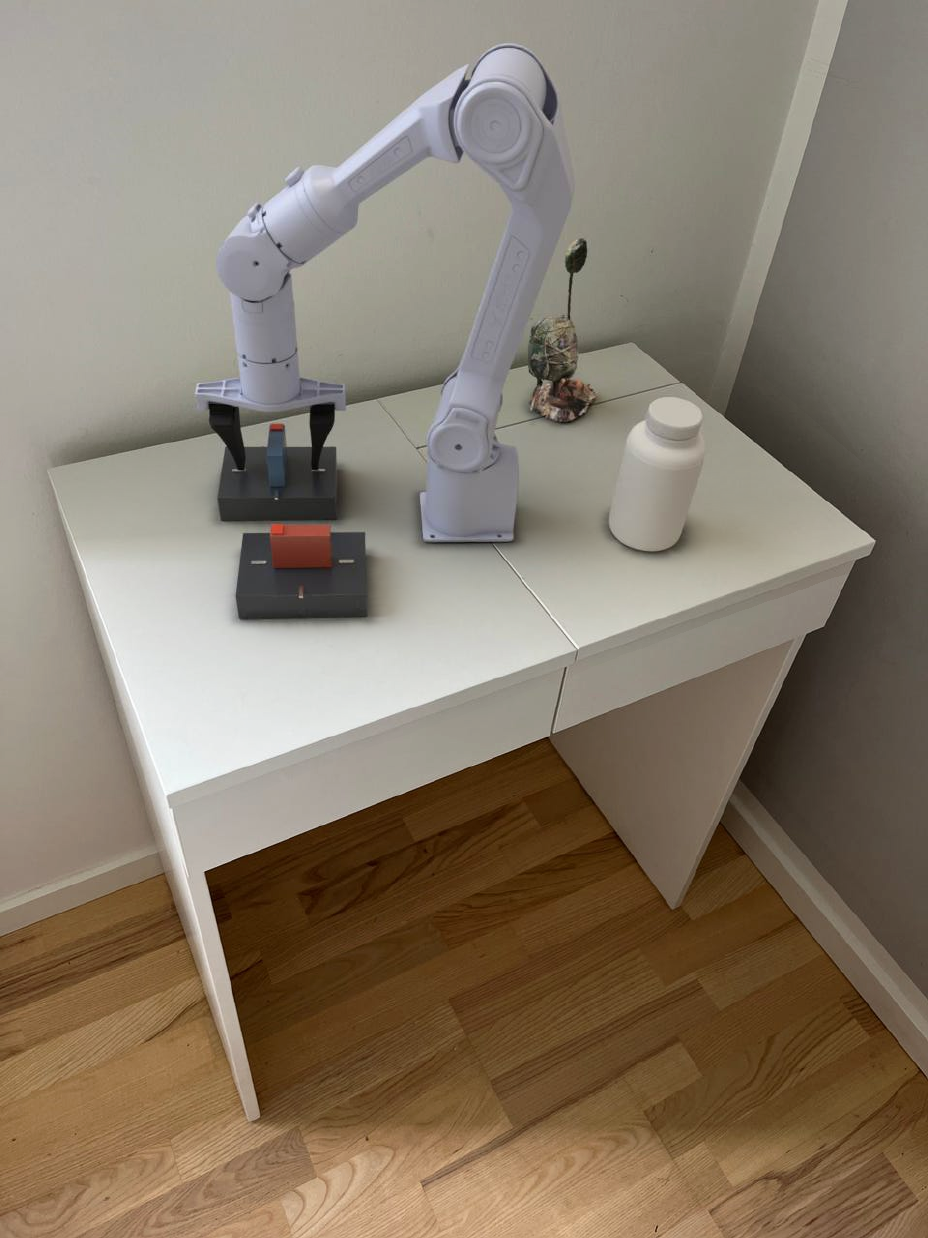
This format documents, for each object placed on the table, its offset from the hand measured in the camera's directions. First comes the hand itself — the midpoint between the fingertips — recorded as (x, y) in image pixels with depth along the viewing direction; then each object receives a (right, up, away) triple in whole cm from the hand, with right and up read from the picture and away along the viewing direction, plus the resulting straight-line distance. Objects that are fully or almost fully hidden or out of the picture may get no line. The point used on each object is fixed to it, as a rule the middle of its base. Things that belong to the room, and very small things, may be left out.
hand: (278, 464), depth 100 cm
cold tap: (0, -1, +1) cm, 1 cm away
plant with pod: (+31, +10, +18) cm, 38 cm away
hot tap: (+4, -11, -9) cm, 15 cm away
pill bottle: (+39, -7, +2) cm, 40 cm away
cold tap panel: (0, -3, +3) cm, 4 cm away
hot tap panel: (+4, -13, -7) cm, 15 cm away
